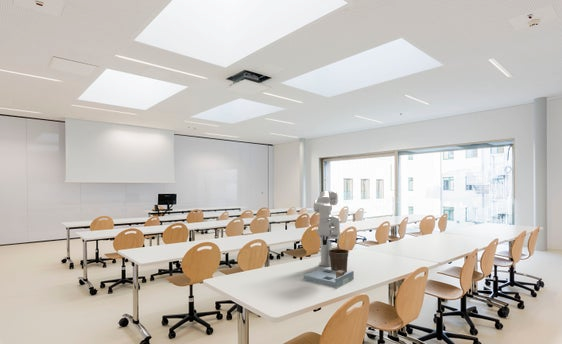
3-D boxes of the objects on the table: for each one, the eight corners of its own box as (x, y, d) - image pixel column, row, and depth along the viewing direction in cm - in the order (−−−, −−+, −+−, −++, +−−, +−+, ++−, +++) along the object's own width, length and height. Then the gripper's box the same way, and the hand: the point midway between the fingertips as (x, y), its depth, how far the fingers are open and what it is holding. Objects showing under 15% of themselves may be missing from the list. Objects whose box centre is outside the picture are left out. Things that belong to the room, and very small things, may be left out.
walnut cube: (339, 276, 221) (339, 270, 221) (344, 277, 218) (344, 271, 218) (336, 277, 218) (335, 271, 218) (341, 279, 215) (341, 272, 215)
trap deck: (321, 272, 243) (321, 265, 244) (353, 278, 225) (353, 271, 226) (303, 279, 225) (303, 271, 225) (337, 287, 207) (336, 278, 207)
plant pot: (326, 273, 240) (326, 252, 240) (330, 268, 255) (330, 248, 256) (348, 275, 234) (347, 253, 235) (350, 269, 250) (350, 249, 250)
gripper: (335, 220, 232) (336, 245, 232) (318, 219, 241) (319, 242, 241) (330, 222, 226) (330, 247, 226) (313, 220, 235) (313, 244, 235)
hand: (324, 244), depth 233 cm, fingers closed
